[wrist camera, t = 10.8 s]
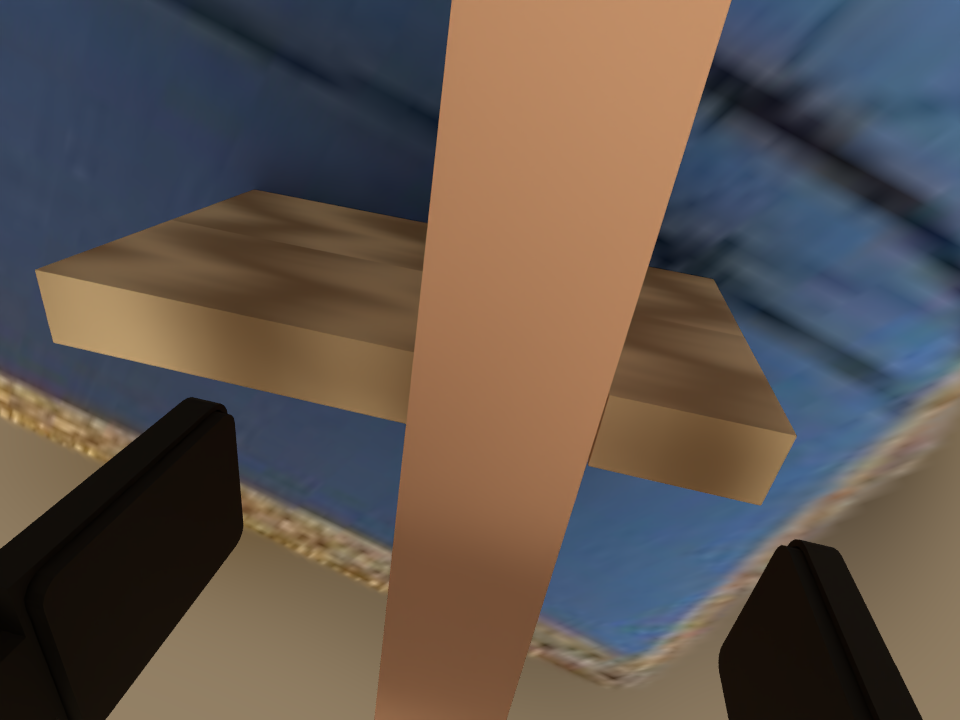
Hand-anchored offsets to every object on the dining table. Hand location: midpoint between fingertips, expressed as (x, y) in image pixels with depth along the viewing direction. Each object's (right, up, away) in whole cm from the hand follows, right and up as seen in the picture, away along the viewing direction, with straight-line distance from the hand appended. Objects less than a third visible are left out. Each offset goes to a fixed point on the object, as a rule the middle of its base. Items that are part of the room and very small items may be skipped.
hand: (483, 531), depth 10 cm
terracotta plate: (+2, +6, +12) cm, 14 cm away
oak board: (0, +7, +12) cm, 14 cm away
